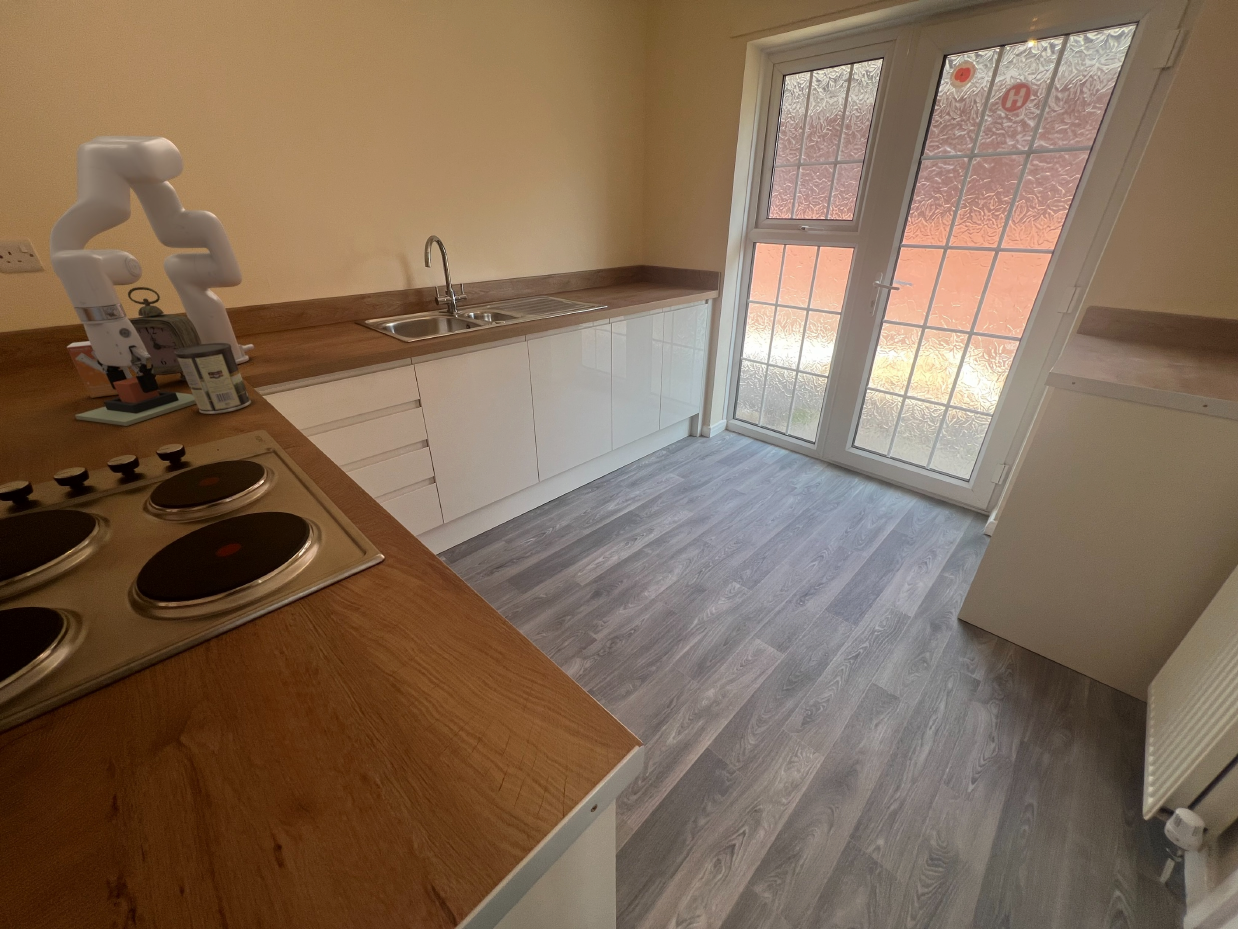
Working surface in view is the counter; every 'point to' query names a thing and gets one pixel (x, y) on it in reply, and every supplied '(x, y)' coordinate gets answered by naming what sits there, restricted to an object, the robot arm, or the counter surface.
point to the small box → (92, 370)
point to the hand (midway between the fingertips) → (136, 389)
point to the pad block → (132, 391)
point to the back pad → (137, 409)
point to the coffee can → (213, 377)
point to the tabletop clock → (163, 335)
